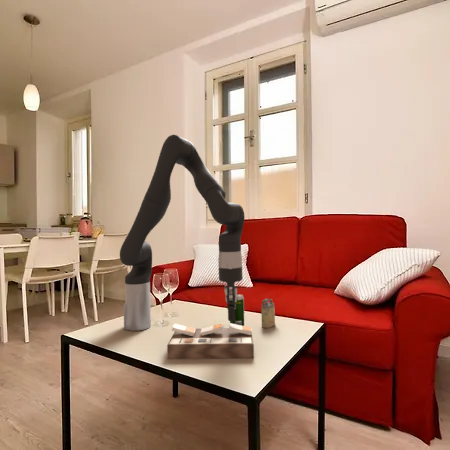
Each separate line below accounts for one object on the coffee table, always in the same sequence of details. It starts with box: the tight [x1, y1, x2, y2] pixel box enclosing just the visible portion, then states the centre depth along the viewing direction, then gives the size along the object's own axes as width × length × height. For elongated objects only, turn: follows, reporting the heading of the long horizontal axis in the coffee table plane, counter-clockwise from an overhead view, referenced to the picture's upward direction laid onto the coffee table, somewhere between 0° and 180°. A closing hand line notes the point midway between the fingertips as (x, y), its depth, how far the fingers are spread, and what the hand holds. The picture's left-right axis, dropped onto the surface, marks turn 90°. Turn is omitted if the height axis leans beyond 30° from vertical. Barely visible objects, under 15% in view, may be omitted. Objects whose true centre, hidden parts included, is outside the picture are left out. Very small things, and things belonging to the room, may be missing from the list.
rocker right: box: [228, 322, 253, 336], centre depth 97 cm, size 7×4×1 cm, turn 88°
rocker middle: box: [200, 322, 224, 336], centre depth 97 cm, size 7×4×1 cm, turn 89°
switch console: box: [166, 327, 255, 360], centre depth 96 cm, size 25×14×5 cm, turn 88°
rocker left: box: [171, 323, 197, 336], centre depth 98 cm, size 7×4×1 cm, turn 88°
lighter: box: [260, 298, 276, 329], centre depth 117 cm, size 7×4×10 cm, turn 145°
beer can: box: [229, 293, 245, 326], centre depth 115 cm, size 5×5×12 cm
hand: (231, 320), depth 97 cm, fingers closed
